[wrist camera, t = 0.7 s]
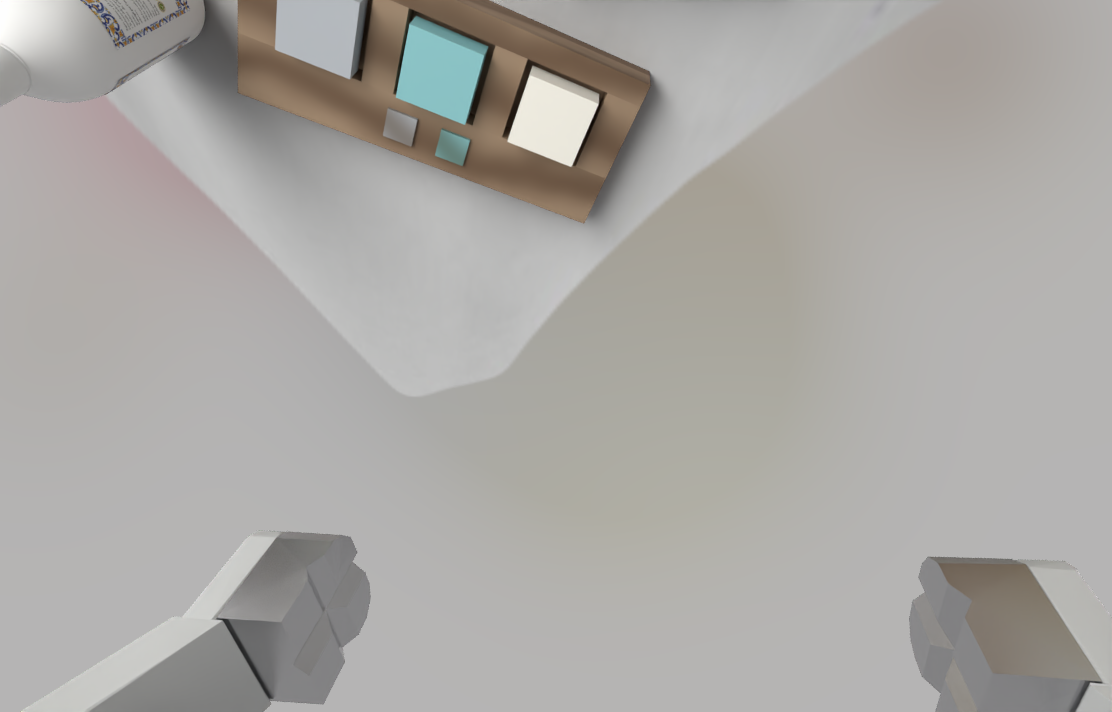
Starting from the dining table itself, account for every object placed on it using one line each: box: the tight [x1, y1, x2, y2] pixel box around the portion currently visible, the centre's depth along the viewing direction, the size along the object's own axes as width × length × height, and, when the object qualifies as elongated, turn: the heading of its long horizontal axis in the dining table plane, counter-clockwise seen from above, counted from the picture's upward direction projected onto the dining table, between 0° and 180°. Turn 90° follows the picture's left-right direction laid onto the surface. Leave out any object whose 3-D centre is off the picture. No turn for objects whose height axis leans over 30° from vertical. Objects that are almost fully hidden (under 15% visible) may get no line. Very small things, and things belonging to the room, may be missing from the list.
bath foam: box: [0, 0, 205, 107], centre depth 39 cm, size 7×7×20 cm
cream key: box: [507, 66, 599, 167], centre depth 47 cm, size 6×6×2 cm
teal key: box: [396, 16, 488, 125], centre depth 45 cm, size 6×6×2 cm
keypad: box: [238, 0, 651, 223], centre depth 47 cm, size 13×30×3 cm, turn 69°
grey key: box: [275, 0, 368, 79], centre depth 43 cm, size 6×6×2 cm
